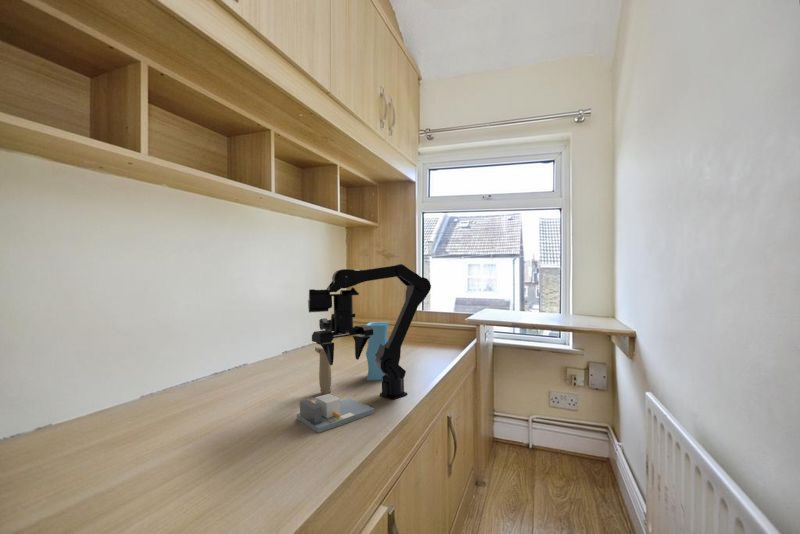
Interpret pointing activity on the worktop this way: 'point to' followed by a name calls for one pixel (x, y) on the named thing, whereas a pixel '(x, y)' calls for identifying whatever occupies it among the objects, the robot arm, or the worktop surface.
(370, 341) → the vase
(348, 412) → the board
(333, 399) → the block
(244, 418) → the worktop surface
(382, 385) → the robot arm
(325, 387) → the handle
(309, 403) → the dark grey upright slab
